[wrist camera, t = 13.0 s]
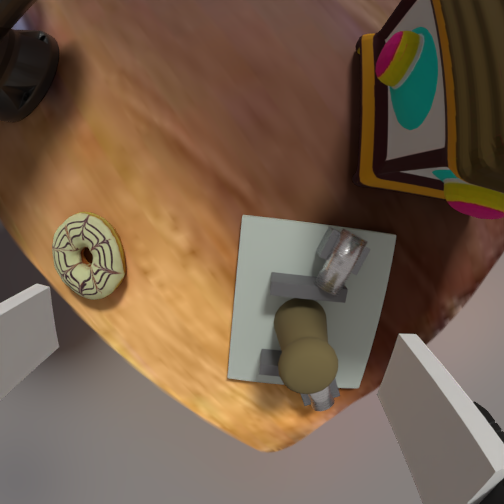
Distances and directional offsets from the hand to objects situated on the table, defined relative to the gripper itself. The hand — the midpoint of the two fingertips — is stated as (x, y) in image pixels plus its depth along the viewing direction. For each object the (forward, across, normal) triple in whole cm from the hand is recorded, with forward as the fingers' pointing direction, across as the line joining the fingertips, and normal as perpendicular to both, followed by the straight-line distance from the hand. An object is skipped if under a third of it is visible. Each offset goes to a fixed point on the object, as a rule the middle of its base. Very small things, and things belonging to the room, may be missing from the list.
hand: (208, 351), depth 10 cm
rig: (+24, +8, -8) cm, 26 cm away
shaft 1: (+22, +10, -16) cm, 29 cm away
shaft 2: (+23, +9, -1) cm, 24 cm away
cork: (+23, +7, -9) cm, 25 cm away
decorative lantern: (+24, +19, +16) cm, 34 cm away
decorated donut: (+25, -19, -5) cm, 32 cm away
